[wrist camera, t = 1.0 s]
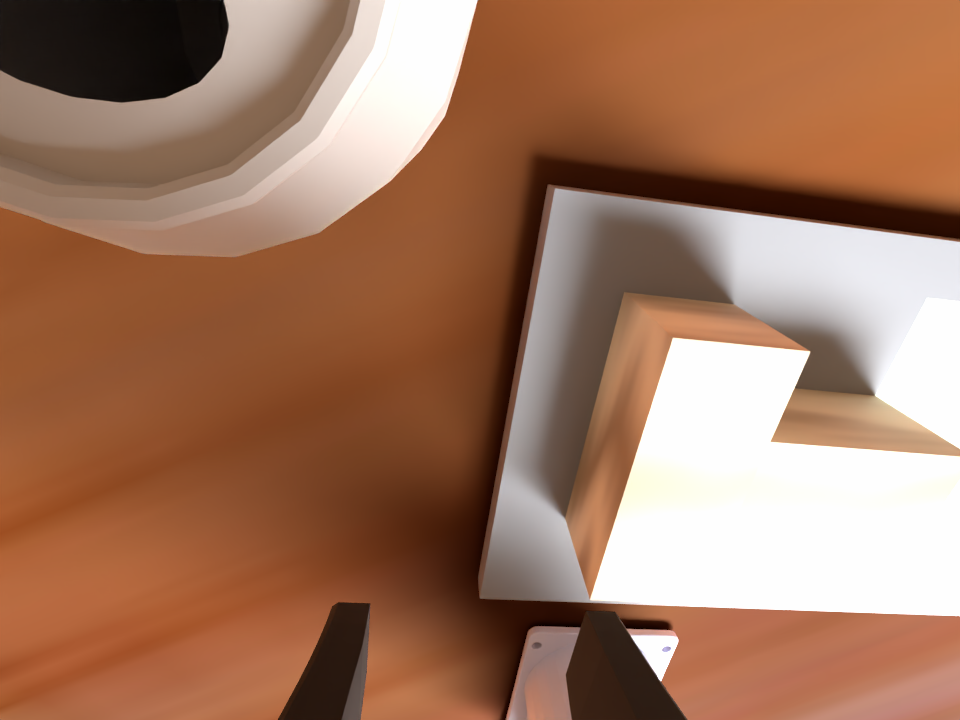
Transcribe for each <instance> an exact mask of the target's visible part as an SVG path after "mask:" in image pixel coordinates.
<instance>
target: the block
mask: <svg viewBox="0 0 960 720" xmlns="http://www.w3.org/2000/svg"><path fill="white" fill-rule="evenodd" d="M810 352H811V351H809V350H807V349H806V348H804V347H802V346H801V345H799V344H798V343H796V342H794V341H793V340H791V339H790V338H788V337H786V336H785V335H783V334H781V333H780V332H778V331H777V330H775V329H773V328H772V327H770V326H768V325H767V324H765V323H764V322H762V321H760V320H759V319H757V318H755V317H754V316H752V315H751V314H749V313H747V312H746V311H744V310H743V309H741V308H739V307H738V306H736V305H734V304H727V303H718V302H709V301H699V300H690V299H681V298H672V297H663V296H654V295H645V294H636V293H627V292H624V295H623V298H622V302H621V306H620V310H619V314H618V318H617V321H616V325H615V329H614V333H613V337H612V341H611V344H610V348H609V352H608V356H607V360H606V364H605V367H604V371H603V375H602V379H601V383H600V387H599V390H598V394H597V398H596V402H595V406H594V410H593V413H592V417H591V421H590V425H589V429H588V432H587V436H586V440H585V444H584V448H583V452H582V455H581V459H580V463H579V467H578V471H577V475H576V478H575V482H574V486H573V490H572V494H571V498H570V501H569V505H568V509H567V513H566V517H565V520H566V523H567V527H568V530H569V533H570V536H571V540H572V543H573V546H574V549H575V553H576V556H577V559H578V563H579V566H580V569H581V572H582V576H583V579H584V582H585V585H586V589H587V592H588V595H589V598H590V600H599V601H626V602H654V603H681V604H698V602H699V600H700V597H701V595H702V593H703V591H704V588H705V586H706V584H707V582H708V579H709V577H710V575H711V573H712V570H713V568H714V566H715V564H716V562H717V559H718V557H719V555H720V553H721V550H722V548H723V546H724V544H725V542H742V543H761V544H780V545H799V546H818V547H838V548H857V549H876V550H895V551H913V550H914V548H915V547H916V545H917V544H918V542H919V541H920V539H921V538H922V536H923V535H924V533H925V532H926V530H927V528H928V527H929V525H930V524H931V522H932V521H933V519H934V518H935V516H936V515H937V513H938V512H939V510H940V509H941V507H942V506H943V504H944V503H945V501H946V500H947V498H948V497H949V495H950V494H951V492H952V491H953V489H954V488H955V486H956V485H957V483H958V482H959V480H960V448H958V447H956V446H955V445H953V444H952V443H950V442H948V441H947V440H945V439H944V438H942V437H940V436H939V435H937V434H936V433H934V432H932V431H931V430H929V429H928V428H926V427H924V426H923V425H921V424H920V423H918V422H916V421H915V420H913V419H912V418H910V417H908V416H907V415H905V414H904V413H902V412H901V411H899V410H897V409H896V408H894V407H893V406H891V405H889V404H888V403H886V402H885V401H883V400H881V399H880V398H878V397H877V396H873V395H862V394H851V393H840V392H829V391H818V390H807V389H796V388H794V387H795V385H796V383H797V381H798V379H799V376H800V374H801V372H802V370H803V367H804V365H805V363H806V361H807V358H808V356H809V354H810Z"/></svg>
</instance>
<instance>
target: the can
mask: <svg viewBox="0 0 960 720" xmlns="http://www.w3.org/2000/svg"><path fill="white" fill-rule="evenodd" d="M477 1H478V0H0V207H1V208H5V209H8V210H11V211H14V212H17V213H20V214H23V215H27V216H30V217H33V218H36V219H39V220H42V221H43V222H45V223H48V224H51V225H55V226H58V227H61V228H64V229H67V230H70V231H73V232H76V233H80V234H83V235H86V236H89V237H92V238H95V239H98V240H102V241H105V242H108V243H111V244H114V245H117V246H120V247H123V248H127V249H130V250H133V251H136V252H139V253H142V254H159V255H188V256H217V257H238V256H241V255H245V254H248V253H252V252H255V251H259V250H262V249H266V248H269V247H272V246H276V245H279V244H283V243H286V242H290V241H293V240H297V239H300V238H303V237H307V236H310V235H314V234H317V233H319V232H321V231H322V230H324V229H325V228H326V227H328V226H329V225H330V224H332V223H333V222H335V221H336V220H337V219H339V218H340V217H342V216H343V215H344V214H346V213H347V212H348V211H350V210H351V209H353V208H354V207H355V206H357V205H358V204H359V203H361V202H362V201H364V200H365V199H366V198H368V197H369V196H370V195H372V194H373V193H375V192H376V191H377V190H379V189H380V188H382V187H383V186H384V185H386V184H387V183H388V182H390V181H391V180H392V179H393V178H394V177H395V176H396V175H397V174H398V173H399V172H400V171H401V170H402V169H403V168H404V167H405V166H406V165H407V164H408V163H409V162H410V161H411V160H412V159H413V157H414V156H415V155H416V154H417V153H418V152H419V151H420V150H421V149H422V148H423V146H424V145H425V144H426V142H427V141H428V139H429V138H430V136H431V135H432V134H433V132H434V131H435V129H436V128H437V127H438V125H439V124H440V122H441V121H442V119H443V118H444V117H445V114H446V111H447V108H448V105H449V102H450V99H451V96H452V92H453V89H454V86H455V83H456V80H457V77H458V73H459V70H460V66H461V62H462V58H463V54H464V51H465V47H466V43H467V39H468V35H469V31H470V28H471V24H472V20H473V16H474V12H475V8H476V4H477Z"/></svg>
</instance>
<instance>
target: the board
mask: <svg viewBox="0 0 960 720" xmlns="http://www.w3.org/2000/svg"><path fill="white" fill-rule="evenodd" d="M624 292H627V293H636V294H645V295H654V296H663V297H672V298H681V299H690V300H699V301H709V302H718V303H727V304H734V305H736V306H738V307H739V308H741V309H743V310H744V311H746V312H747V313H749V314H751V315H752V316H754V317H755V318H757V319H759V320H760V321H762V322H764V323H765V324H767V325H768V326H770V327H772V328H773V329H775V330H777V331H778V332H780V333H781V334H783V335H785V336H786V337H788V338H790V339H791V340H793V341H794V342H796V343H798V344H799V345H801V346H802V347H804V348H806V349H807V350H809V351H811V352H810V354H809V356H808V358H807V361H806V363H805V365H804V367H803V370H802V372H801V374H800V376H799V379H798V381H797V383H796V385H795V387H794V388H796V389H807V390H818V391H829V392H840V393H851V394H862V395H873V396H877V397H878V398H880V399H881V400H883V401H885V402H886V403H888V404H889V405H891V406H893V407H894V408H896V409H897V410H899V411H901V412H902V413H904V414H905V415H907V416H908V417H910V418H912V419H913V420H915V421H916V422H918V423H920V424H921V425H923V426H924V427H926V428H928V429H929V430H931V431H932V432H934V433H936V434H937V435H939V436H940V437H942V438H944V439H945V440H947V441H948V442H950V443H952V444H953V445H955V446H956V447H958V448H960V239H955V238H948V237H940V236H933V235H925V234H918V233H910V232H903V231H895V230H888V229H880V228H873V227H865V226H858V225H850V224H843V223H835V222H828V221H820V220H812V219H805V218H797V217H790V216H782V215H775V214H767V213H760V212H752V211H745V210H737V209H730V208H722V207H715V206H707V205H700V204H692V203H685V202H677V201H670V200H662V199H655V198H647V197H640V196H632V195H625V194H617V193H610V192H602V191H595V190H587V189H580V188H572V187H565V186H557V185H549V184H548V186H547V191H546V197H545V202H544V208H543V214H542V219H541V225H540V231H539V236H538V242H537V248H536V253H535V259H534V265H533V270H532V276H531V281H530V287H529V293H528V298H527V304H526V310H525V315H524V321H523V327H522V332H521V338H520V343H519V349H518V355H517V360H516V366H515V372H514V377H513V383H512V389H511V394H510V400H509V405H508V411H507V417H506V422H505V428H504V434H503V439H502V445H501V451H500V456H499V462H498V468H497V473H496V479H495V484H494V490H493V496H492V501H491V507H490V513H489V518H488V524H487V530H486V535H485V541H484V546H483V552H482V558H481V563H480V569H479V575H478V583H479V597H480V599H501V600H529V601H557V602H585V603H612V604H640V605H668V606H696V607H723V608H751V609H779V610H807V611H834V612H862V613H890V614H918V615H945V616H960V480H959V482H958V483H957V485H956V486H955V488H954V489H953V491H952V492H951V494H950V495H949V497H948V498H947V500H946V501H945V503H944V504H943V506H942V507H941V509H940V510H939V512H938V513H937V515H936V516H935V518H934V519H933V521H932V522H931V524H930V525H929V527H928V528H927V530H926V532H925V533H924V535H923V536H922V538H921V539H920V541H919V542H918V544H917V545H916V547H915V548H914V550H913V551H895V550H876V549H857V548H838V547H818V546H799V545H780V544H761V543H742V542H725V544H724V546H723V548H722V550H721V553H720V555H719V557H718V559H717V562H716V564H715V566H714V568H713V570H712V573H711V575H710V577H709V579H708V582H707V584H706V586H705V588H704V591H703V593H702V595H701V597H700V600H699V602H698V604H681V603H654V602H626V601H599V600H590V598H589V595H588V592H587V589H586V585H585V582H584V579H583V576H582V572H581V569H580V566H579V563H578V559H577V556H576V553H575V549H574V546H573V543H572V540H571V536H570V533H569V530H568V527H567V523H566V520H565V517H566V513H567V509H568V505H569V501H570V498H571V494H572V490H573V486H574V482H575V478H576V475H577V471H578V467H579V463H580V459H581V455H582V452H583V448H584V444H585V440H586V436H587V432H588V429H589V425H590V421H591V417H592V413H593V410H594V406H595V402H596V398H597V394H598V390H599V387H600V383H601V379H602V375H603V371H604V367H605V364H606V360H607V356H608V352H609V348H610V344H611V341H612V337H613V333H614V329H615V325H616V321H617V318H618V314H619V310H620V306H621V302H622V298H623V295H624Z"/></svg>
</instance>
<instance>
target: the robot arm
mask: <svg viewBox="0 0 960 720" xmlns="http://www.w3.org/2000/svg"><path fill="white" fill-rule="evenodd" d="M369 619H370V604H369V603H340V602H338V603H337V604H335V605H334V606H332V609H331V611H330V614H329V617H328V620H327V622H326V625H325V627H324V629H323V632H322V634H321V636H320V639H319V641H318V643H317V645H316V647H315V649H314V652H313V654H312V656H311V658H310V660H309V662H308V664H307V666H306V668H305V670H304V672H303V674H302V676H301V678H300V680H299V682H298V684H297V685H296V687H295V689H294V691H293V693H292V695H291V696H290V698H289V700H288V702H287V704H286V706H285V707H284V709H283V711H282V713H281V715H280V717H279V718H278V720H360V719H361V712H362V704H363V696H364V689H365V681H366V673H367V657H368V638H369ZM677 643H678V638H677V636H676V634H675V632H674V631H671V630H650V629H626V627H625V626H624V624H623V623H622V621H621V620H620V618H619V617H618V615H617V614H616V613H615V612H604V611H586V612H585V615H584V618H583V621H582V625H581V627H551V626H535V627H533V628H531V629H530V630H529V631H528V633H527V637H526V641H525V645H524V649H523V653H522V657H521V661H520V665H519V669H518V673H517V677H516V681H515V685H514V689H513V693H512V697H511V701H510V705H509V709H508V713H507V717H506V720H687V718H686V717H685V716H684V714H683V713H682V711H681V710H680V708H679V707H678V706H677V704H676V703H675V701H674V700H673V698H672V697H671V696H670V694H669V693H668V691H667V690H666V688H665V687H664V685H663V684H662V682H661V679H662V677H663V675H664V672H665V670H666V668H667V666H668V663H669V661H670V659H671V657H672V654H673V652H674V650H675V648H676V645H677Z"/></svg>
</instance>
